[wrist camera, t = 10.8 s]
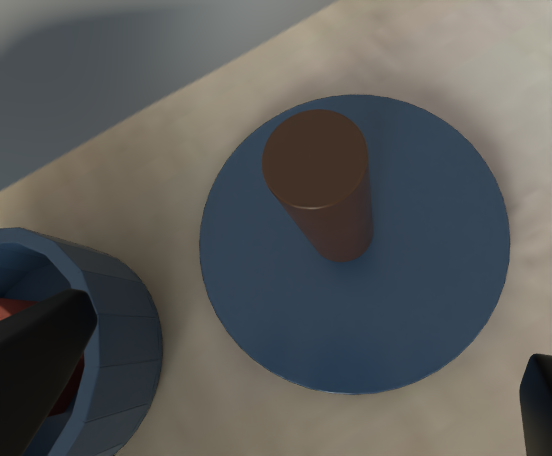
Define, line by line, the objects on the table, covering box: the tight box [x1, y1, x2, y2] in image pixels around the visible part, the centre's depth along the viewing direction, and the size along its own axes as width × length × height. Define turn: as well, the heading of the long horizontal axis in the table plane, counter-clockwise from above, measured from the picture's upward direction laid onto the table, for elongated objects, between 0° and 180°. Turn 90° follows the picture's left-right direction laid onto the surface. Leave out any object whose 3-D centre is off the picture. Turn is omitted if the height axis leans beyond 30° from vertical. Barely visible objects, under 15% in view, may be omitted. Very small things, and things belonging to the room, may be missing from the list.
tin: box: [0, 227, 162, 456], centre depth 20 cm, size 11×12×5 cm
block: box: [0, 298, 85, 417], centre depth 20 cm, size 4×4×4 cm
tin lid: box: [199, 95, 510, 395], centre depth 15 cm, size 14×14×10 cm
